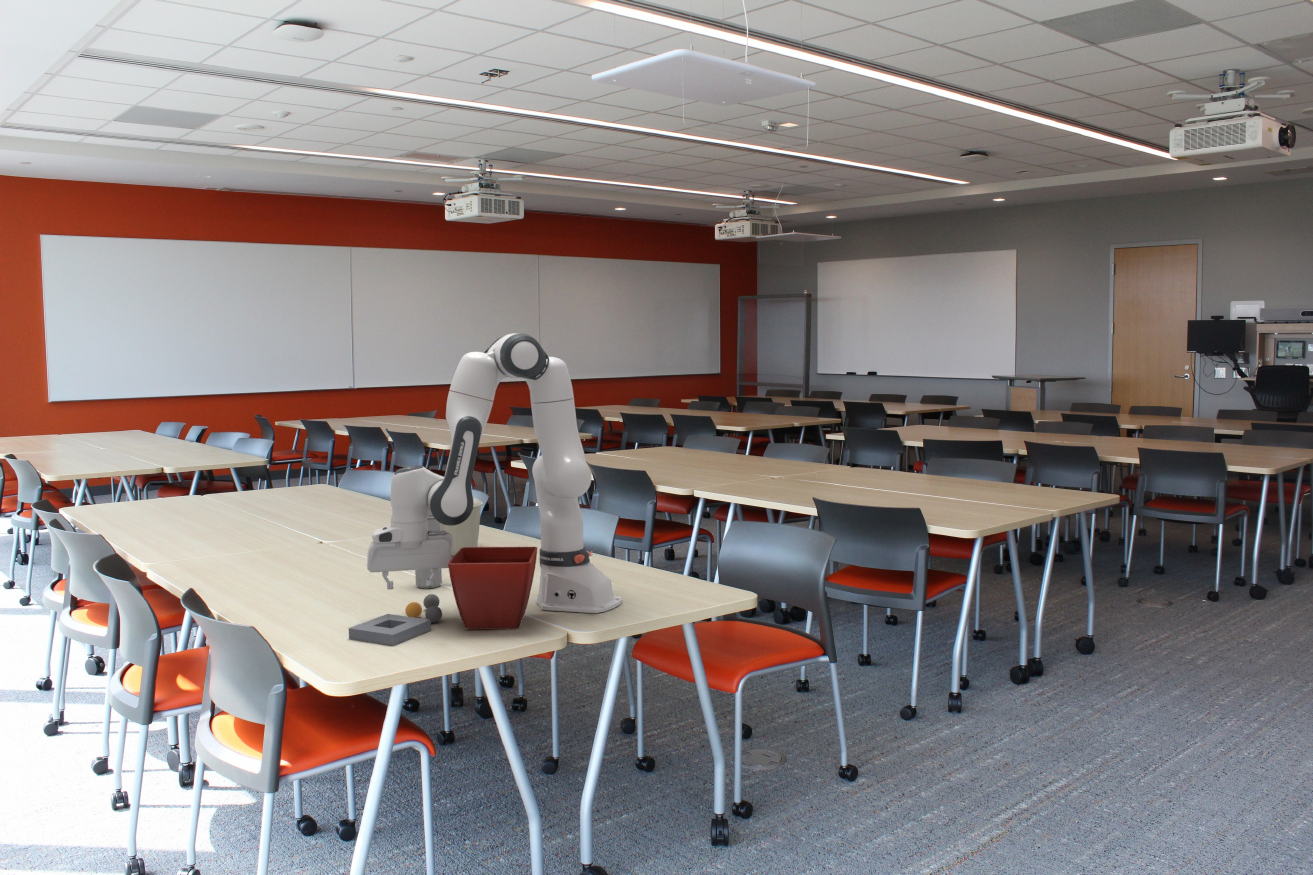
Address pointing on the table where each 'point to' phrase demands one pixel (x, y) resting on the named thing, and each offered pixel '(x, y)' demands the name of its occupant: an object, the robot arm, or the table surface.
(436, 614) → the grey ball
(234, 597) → the table surface
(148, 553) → the table surface
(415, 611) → the orange ball
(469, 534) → the canister
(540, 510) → the robot arm
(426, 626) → the grey square frame
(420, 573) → the water bottle
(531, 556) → the plant pot
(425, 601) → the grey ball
